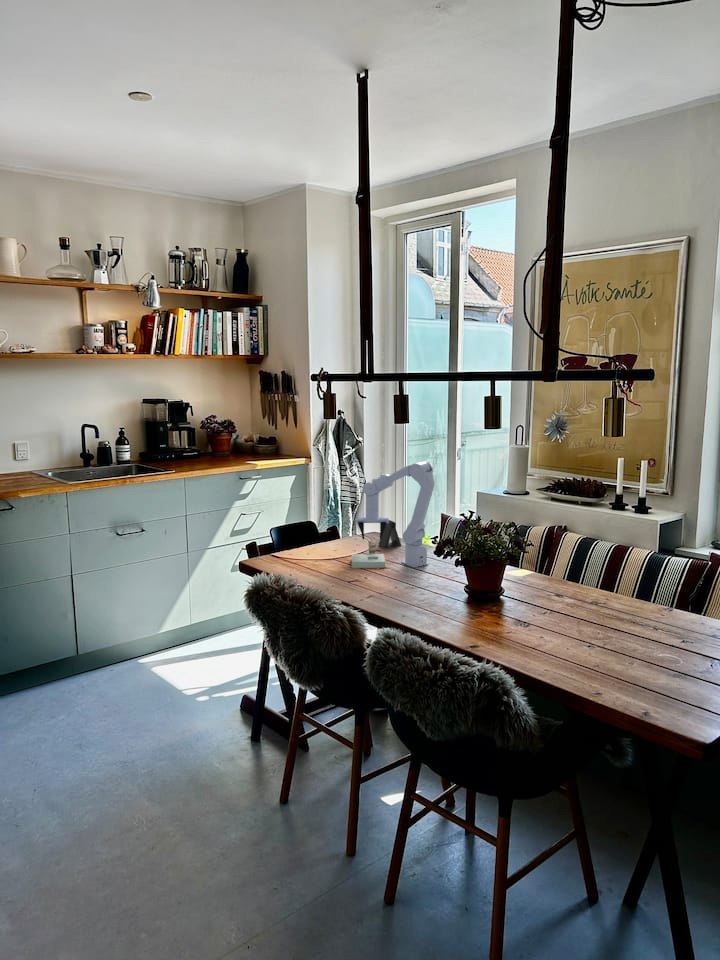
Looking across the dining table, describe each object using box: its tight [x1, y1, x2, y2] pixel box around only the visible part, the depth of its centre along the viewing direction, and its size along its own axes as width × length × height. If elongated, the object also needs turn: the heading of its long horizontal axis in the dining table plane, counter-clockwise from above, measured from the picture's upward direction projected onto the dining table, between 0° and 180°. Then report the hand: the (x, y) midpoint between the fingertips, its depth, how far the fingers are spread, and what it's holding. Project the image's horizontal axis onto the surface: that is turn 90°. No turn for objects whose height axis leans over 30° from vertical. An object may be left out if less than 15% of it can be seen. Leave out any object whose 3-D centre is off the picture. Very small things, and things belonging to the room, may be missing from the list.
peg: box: [368, 540, 377, 554], centre depth 310 cm, size 3×3×7 cm
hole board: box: [351, 553, 386, 569], centre depth 300 cm, size 14×12×2 cm
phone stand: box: [378, 519, 402, 549], centre depth 329 cm, size 9×6×12 cm, turn 116°
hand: (372, 538), depth 309 cm, fingers open, 7 cm apart
